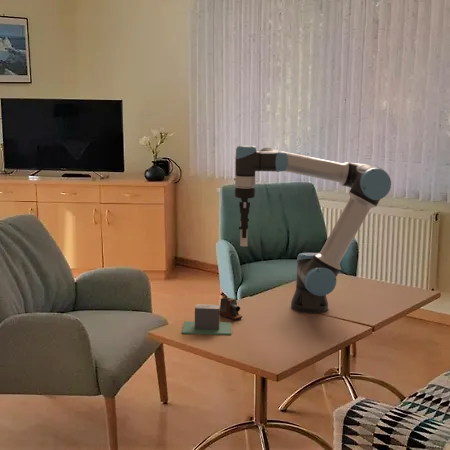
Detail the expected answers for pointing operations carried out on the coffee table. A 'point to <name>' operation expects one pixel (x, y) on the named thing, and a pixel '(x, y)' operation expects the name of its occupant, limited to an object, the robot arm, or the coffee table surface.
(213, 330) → the header board
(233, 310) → the electronic device
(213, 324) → the block
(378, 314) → the coffee table surface
